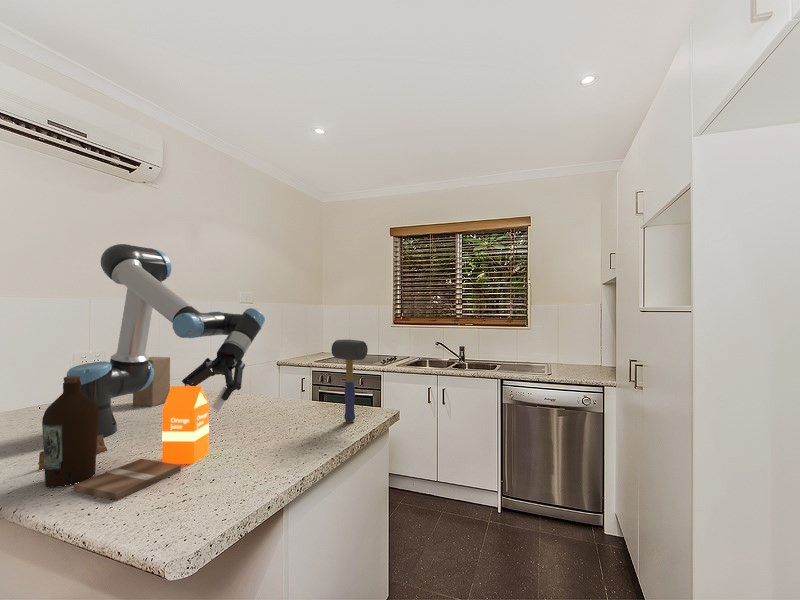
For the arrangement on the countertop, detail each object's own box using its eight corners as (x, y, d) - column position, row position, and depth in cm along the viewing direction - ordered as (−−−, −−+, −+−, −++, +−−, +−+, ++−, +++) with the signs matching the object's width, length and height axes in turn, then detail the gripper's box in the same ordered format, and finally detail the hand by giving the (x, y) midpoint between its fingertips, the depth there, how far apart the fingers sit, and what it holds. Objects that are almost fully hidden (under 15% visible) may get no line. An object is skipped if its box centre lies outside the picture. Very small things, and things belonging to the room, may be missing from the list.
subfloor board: (73, 491, 88) (73, 484, 88) (141, 464, 103) (141, 458, 103) (116, 500, 83) (116, 493, 83) (180, 471, 98) (180, 464, 98)
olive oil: (81, 467, 101) (82, 372, 102) (108, 473, 97) (109, 374, 98) (31, 484, 91) (32, 379, 92) (58, 492, 87) (59, 381, 88)
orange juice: (179, 452, 111) (179, 383, 111) (209, 453, 111) (209, 383, 111) (161, 463, 103) (161, 389, 104) (193, 464, 103) (194, 389, 103)
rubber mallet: (329, 421, 140) (329, 339, 141) (342, 416, 147) (342, 338, 147) (357, 427, 134) (356, 340, 135) (369, 421, 140) (369, 339, 141)
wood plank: (41, 472, 98) (42, 452, 99) (37, 471, 99) (37, 451, 99) (107, 451, 113) (107, 434, 113) (102, 450, 113) (103, 433, 113)
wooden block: (152, 407, 164) (152, 359, 164) (132, 406, 166) (132, 359, 166) (170, 401, 174) (170, 357, 174) (151, 400, 176) (151, 356, 176)
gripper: (271, 357, 122) (238, 418, 107) (209, 355, 130) (170, 411, 115) (260, 342, 117) (223, 403, 102) (196, 340, 125) (154, 397, 110)
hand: (195, 407), depth 109 cm, fingers open, 13 cm apart
